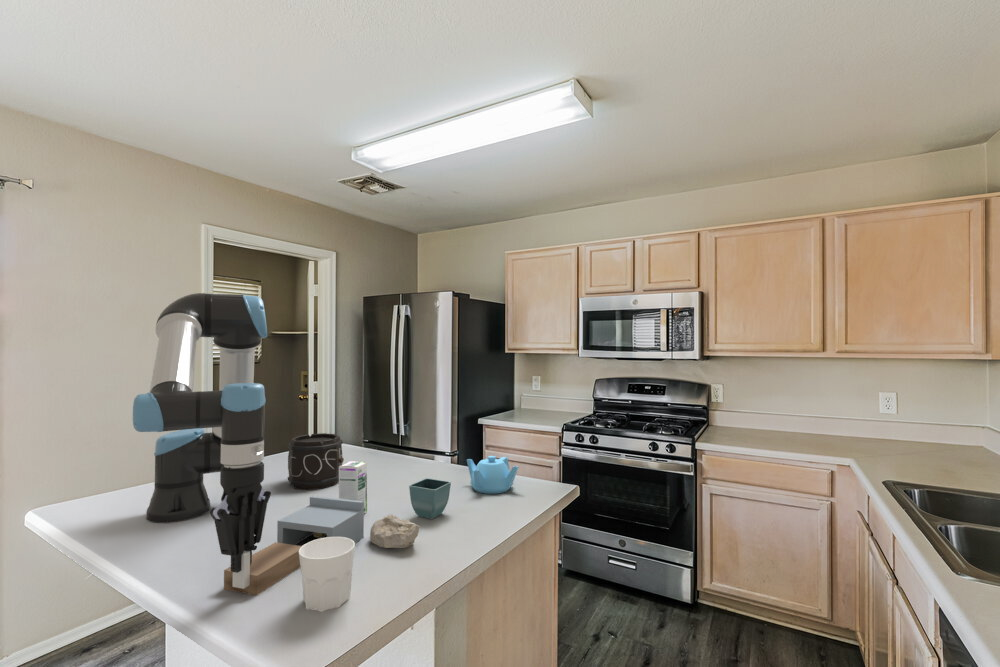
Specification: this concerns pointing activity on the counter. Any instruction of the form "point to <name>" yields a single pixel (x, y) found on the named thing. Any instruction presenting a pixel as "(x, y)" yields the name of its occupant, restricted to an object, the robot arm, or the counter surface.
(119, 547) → the counter surface
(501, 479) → the teapot
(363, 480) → the syrup box
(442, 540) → the counter surface
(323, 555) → the cup
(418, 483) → the flower pot
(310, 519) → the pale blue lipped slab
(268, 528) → the counter surface
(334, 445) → the coffee canister
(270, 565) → the board
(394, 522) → the stone
